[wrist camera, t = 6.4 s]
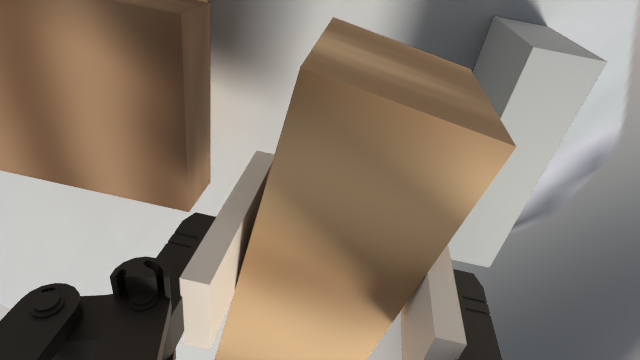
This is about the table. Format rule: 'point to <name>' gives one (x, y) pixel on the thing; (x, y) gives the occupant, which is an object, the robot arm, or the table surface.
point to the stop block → (523, 121)
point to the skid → (360, 196)
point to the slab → (108, 96)
